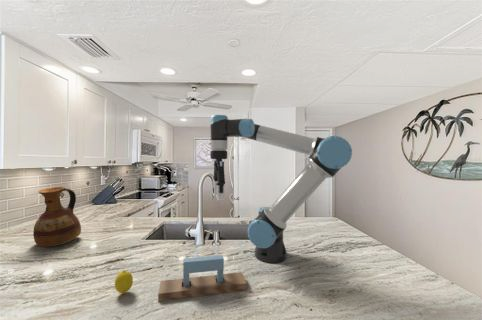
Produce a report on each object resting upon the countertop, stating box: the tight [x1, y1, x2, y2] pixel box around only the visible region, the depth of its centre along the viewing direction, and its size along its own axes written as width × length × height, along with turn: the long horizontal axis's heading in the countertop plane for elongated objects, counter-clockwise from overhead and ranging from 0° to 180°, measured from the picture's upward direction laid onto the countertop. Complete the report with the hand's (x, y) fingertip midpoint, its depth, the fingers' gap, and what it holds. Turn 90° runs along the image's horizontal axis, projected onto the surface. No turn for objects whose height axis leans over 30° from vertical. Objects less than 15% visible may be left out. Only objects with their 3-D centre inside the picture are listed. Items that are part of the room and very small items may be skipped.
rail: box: [157, 272, 248, 302], centre depth 84 cm, size 30×8×2 cm, turn 103°
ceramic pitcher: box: [32, 186, 82, 247], centre depth 126 cm, size 20×20×30 cm
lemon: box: [114, 270, 134, 295], centre depth 81 cm, size 6×6×8 cm
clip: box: [182, 254, 225, 287], centre depth 84 cm, size 14×3×11 cm, turn 103°
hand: (218, 197), depth 106 cm, fingers open, 13 cm apart
